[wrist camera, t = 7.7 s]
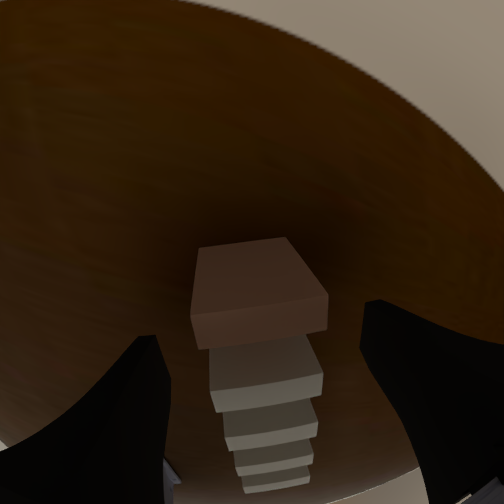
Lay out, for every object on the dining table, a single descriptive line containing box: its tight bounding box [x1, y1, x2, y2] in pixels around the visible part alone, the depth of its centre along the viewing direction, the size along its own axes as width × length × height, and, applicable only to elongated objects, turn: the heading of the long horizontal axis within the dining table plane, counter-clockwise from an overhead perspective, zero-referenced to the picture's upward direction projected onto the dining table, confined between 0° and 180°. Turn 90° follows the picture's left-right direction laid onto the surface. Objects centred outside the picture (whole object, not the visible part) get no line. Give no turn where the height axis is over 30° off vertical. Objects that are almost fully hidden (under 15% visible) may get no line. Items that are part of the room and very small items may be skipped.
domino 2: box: [209, 334, 323, 413], centre depth 15 cm, size 2×5×7 cm, turn 95°
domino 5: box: [241, 465, 310, 494], centre depth 19 cm, size 2×5×7 cm, turn 96°
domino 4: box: [233, 438, 314, 476], centre depth 18 cm, size 2×5×7 cm, turn 95°
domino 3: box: [223, 398, 318, 451], centre depth 16 cm, size 2×5×7 cm, turn 96°
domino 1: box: [190, 237, 329, 350], centre depth 14 cm, size 2×5×7 cm, turn 95°
